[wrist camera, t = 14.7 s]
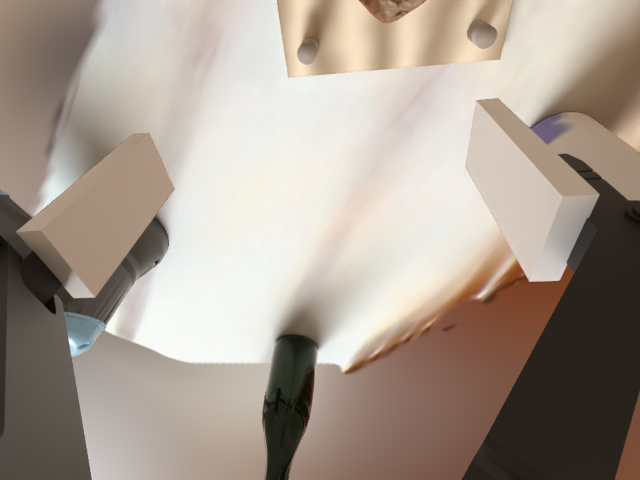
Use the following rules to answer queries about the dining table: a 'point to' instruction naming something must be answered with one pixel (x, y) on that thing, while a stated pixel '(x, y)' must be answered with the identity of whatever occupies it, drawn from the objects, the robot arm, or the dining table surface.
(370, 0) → the block
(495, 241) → the dining table surface
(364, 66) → the peg stand
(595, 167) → the container
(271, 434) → the beer bottle
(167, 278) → the dining table surface
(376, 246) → the dining table surface
